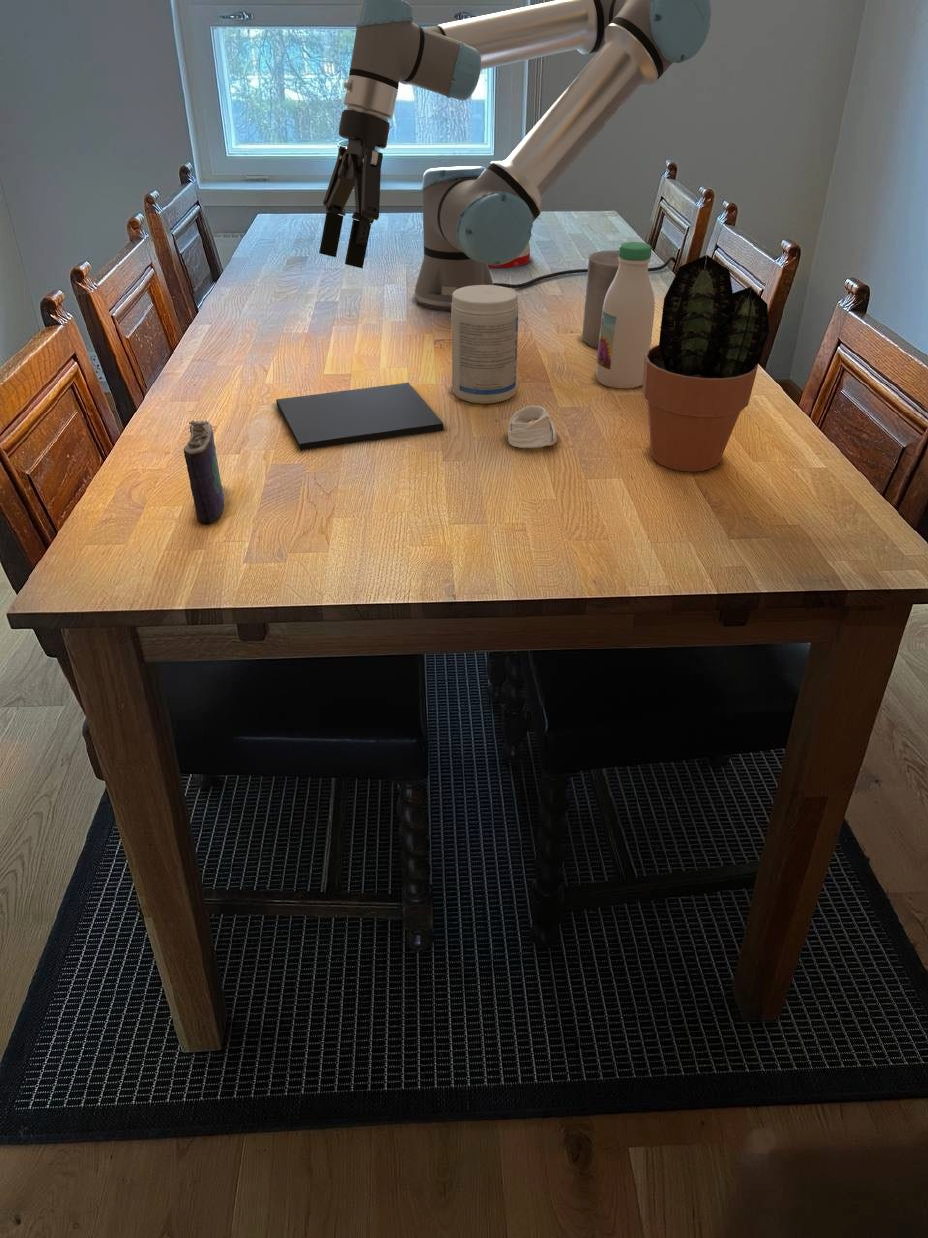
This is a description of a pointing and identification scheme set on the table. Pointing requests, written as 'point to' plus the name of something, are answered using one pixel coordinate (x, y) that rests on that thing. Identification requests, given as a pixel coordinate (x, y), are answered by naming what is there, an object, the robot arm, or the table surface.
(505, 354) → the supplement tub
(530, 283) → the robot arm
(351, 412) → the mat
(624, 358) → the milk bottle
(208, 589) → the table surface
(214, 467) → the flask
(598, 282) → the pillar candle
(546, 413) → the white wrapped ring
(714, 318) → the potted plant
